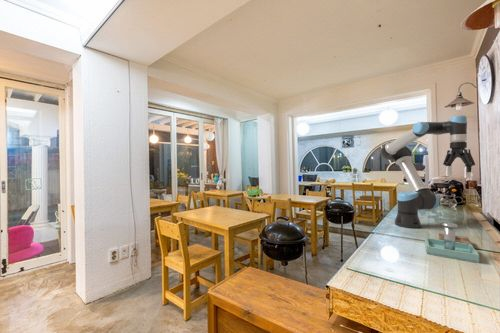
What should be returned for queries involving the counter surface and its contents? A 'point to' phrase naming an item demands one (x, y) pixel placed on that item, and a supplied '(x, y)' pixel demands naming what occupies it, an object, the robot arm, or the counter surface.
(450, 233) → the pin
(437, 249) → the tray
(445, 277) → the counter surface
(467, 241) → the holder
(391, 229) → the counter surface
